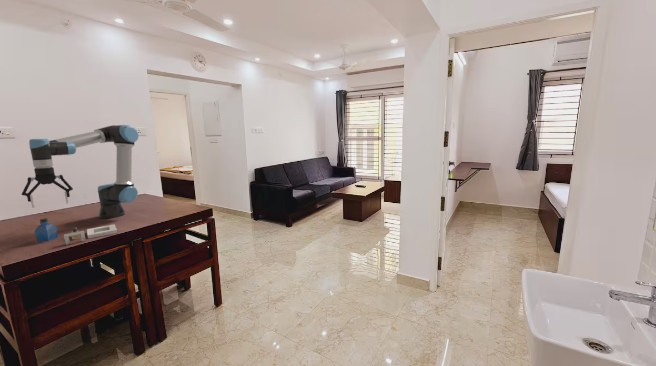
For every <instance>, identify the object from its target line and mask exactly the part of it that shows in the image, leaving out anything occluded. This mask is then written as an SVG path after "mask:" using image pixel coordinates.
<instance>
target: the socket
mask: <svg viewBox="0 0 656 366" xmlns="http://www.w3.org/2000/svg"><path fill="white" fill-rule="evenodd" d="M86 233H87V235H86V236H87V239H93V238H99V237H104V236H109V235H114V234H118V229H117V227H116V224H115V223H114V224H108V225H103V226H99V227H93V228H86Z"/></svg>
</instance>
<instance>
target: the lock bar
mask: <svg viewBox="0 0 656 366" xmlns="http://www.w3.org/2000/svg"><path fill="white" fill-rule="evenodd" d="M71 229H72V231H71V233H74V232H80V231H79V229H78V228H77V227H75V226H74V227H72V228H71ZM79 239H80V234H78V235H73V236H71V240H73V241H74V240H79Z"/></svg>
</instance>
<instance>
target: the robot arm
mask: <svg viewBox="0 0 656 366" xmlns="http://www.w3.org/2000/svg"><path fill="white" fill-rule="evenodd" d="M138 140H139V132H138V130H137V129H136V128H135V127H134V126H132V125H129V124H128V125H127V124H120V125H119V124H118V125H113V124H112V125H109V126H104V127H101V128H96V129H94V130H93V131H91V132H90V131H89V132H85V133H81V134H75V135H70V136H66V137H61V138H56V139H52V140H49V139H48V138H32V139H31V138H30V139H29V142H28V144H29V149H30V154H31V159H32V165H33V168H34V174H35V176H34V177H31V176H28V177H27V182H26V185H25V187H24V188H23V190H22V192H21V196H24V197H25V196H26V198H27V202H30V203H31V207H32V208H36V206H35V201H34V196H33V193H34V191H36V189H38V187H39V186H40V185H51V184H54V185H55V186H57V187H59V188H60V189H61V190H63V191H64V197H65V201H66V203H65V204H69V200H68V199H69V198H70V196H71V195H70V192H71V191H73V190H74V189H73V187H72V186H71V185H70V183H69V182H68V181H67V180H66V179H65V178H64V175H63V174H59V175H56V174H55V169H54V163H53V156H54V157H56V156H71V155H74V154H76V153H77V148H81V147H86V146H89V145H93V144H98V143H100V144H105V143H113V144H114V145H115V147H116V169H115V172H116V175H115V176H116V177H115V178H116V179H115V182H113V183H107V184H102V185H98V186H97V193H98V199H99V205H100V208H99V212H98V218H99V219H113V218H118V217H122V216H124V215H125V214H126V211H125V208H124V206H123V205H122V204H129V203H132V202H134V201H135V200H136V199H137V197H138V196H139V195H138V194H139V192H138V189H137V188H136V187H135V184H134V182H133V181H132V166H133V165H132V160H133V159H132V153H133V149H132V148H133V147H135V142H137V141H138ZM56 179H59V180H61V182H62V183H63V184H64V185H65V186H66V187H65V186H64V185H62V184H61V183H60V182H58V181H56ZM34 180H35V181H36V182H37V183H36V184H35V185H34V186H33V187H32V188H31V189H30V190H29V191H28V189H29V187H30V185H31V183H32V182H34ZM27 191H28V192H27Z"/></svg>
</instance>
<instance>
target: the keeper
mask: <svg viewBox="0 0 656 366" xmlns="http://www.w3.org/2000/svg"><path fill="white" fill-rule="evenodd" d="M78 234H79V235H80V239H81V242H86V234H85V230H80V231H79V232H74V233H72V232H70V233H65V234H63V237H64V242H65V246H66V245H70V243H71V242H70V237H72V236H73V235H78Z"/></svg>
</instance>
